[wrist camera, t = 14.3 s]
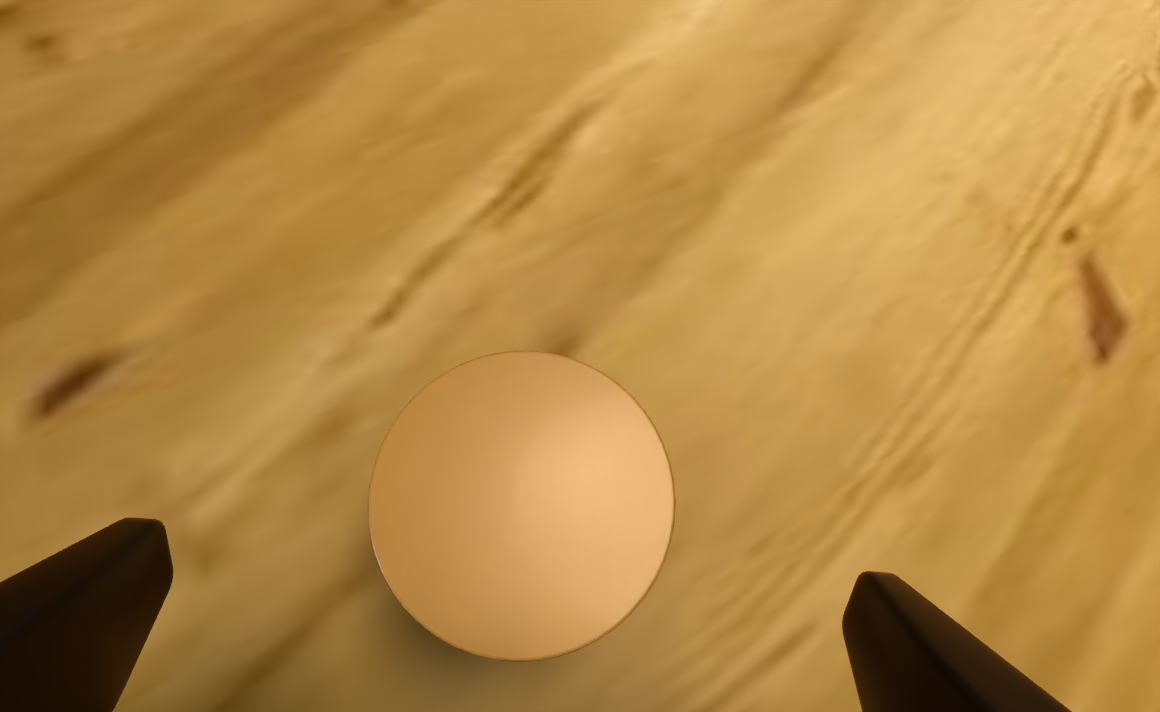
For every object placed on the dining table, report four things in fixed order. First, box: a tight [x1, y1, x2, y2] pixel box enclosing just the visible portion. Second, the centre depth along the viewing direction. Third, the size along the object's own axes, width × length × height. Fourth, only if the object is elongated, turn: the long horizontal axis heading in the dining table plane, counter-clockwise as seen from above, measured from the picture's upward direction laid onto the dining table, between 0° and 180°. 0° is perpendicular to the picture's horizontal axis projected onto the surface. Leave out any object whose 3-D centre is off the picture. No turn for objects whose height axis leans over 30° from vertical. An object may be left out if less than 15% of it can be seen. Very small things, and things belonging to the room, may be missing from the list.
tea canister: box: [368, 351, 676, 662], centre depth 17 cm, size 6×6×9 cm
